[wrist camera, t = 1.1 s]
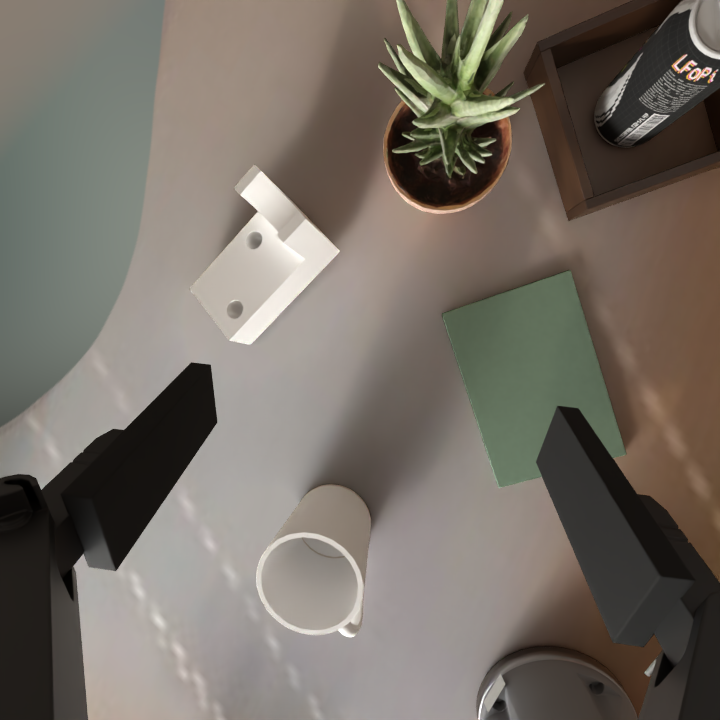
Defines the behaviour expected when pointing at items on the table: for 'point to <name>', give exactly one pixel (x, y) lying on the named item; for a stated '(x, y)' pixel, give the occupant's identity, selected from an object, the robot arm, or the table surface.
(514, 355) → the mat
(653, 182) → the holder
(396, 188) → the potted plant
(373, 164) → the table surface
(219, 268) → the bracket
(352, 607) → the mug
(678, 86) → the beverage can
